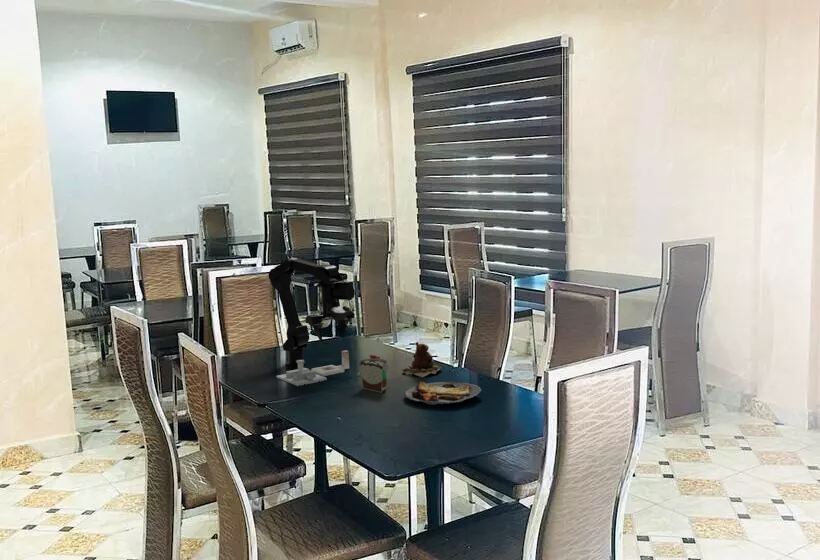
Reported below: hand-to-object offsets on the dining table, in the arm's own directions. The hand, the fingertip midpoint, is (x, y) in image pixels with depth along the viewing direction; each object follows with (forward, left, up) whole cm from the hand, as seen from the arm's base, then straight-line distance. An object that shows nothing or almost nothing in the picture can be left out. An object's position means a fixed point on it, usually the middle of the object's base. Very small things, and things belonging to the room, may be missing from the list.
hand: (331, 339), depth 302 cm
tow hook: (+15, +9, -14) cm, 23 cm away
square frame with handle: (+2, -4, -12) cm, 13 cm away
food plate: (+58, +6, -12) cm, 60 cm away
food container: (+35, -3, -12) cm, 37 cm away
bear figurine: (+26, +23, -12) cm, 37 cm away
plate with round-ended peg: (+4, -16, -12) cm, 20 cm away
